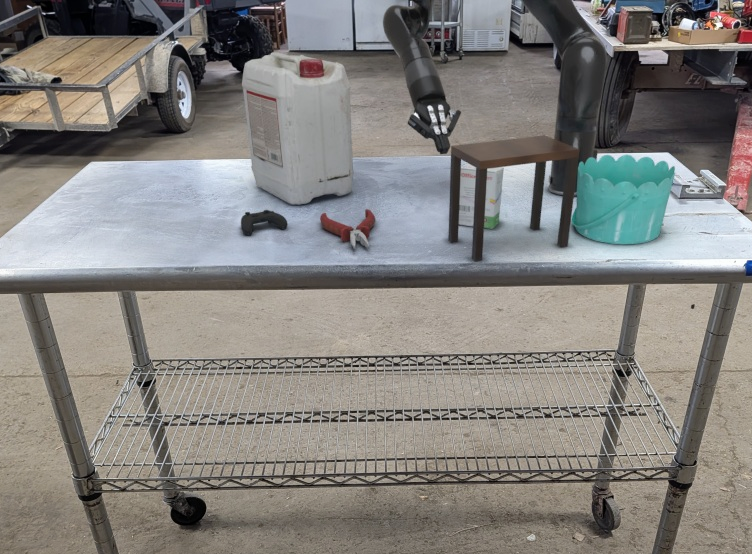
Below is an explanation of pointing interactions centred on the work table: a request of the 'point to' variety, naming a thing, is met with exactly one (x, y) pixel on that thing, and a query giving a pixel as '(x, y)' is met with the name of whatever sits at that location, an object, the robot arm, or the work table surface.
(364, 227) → the pliers
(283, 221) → the gaming controller
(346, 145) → the jerry can
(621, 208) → the basket
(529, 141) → the small table
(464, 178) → the ink box
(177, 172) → the work table surface
